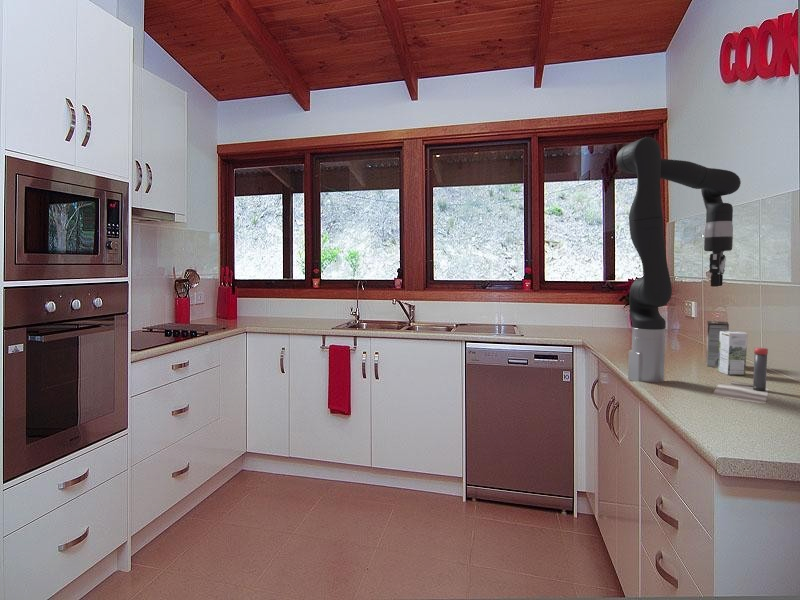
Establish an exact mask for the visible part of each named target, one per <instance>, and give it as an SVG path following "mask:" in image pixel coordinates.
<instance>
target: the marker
mask: <svg viewBox="0 0 800 600" xmlns="http://www.w3.org/2000/svg"><path fill="white" fill-rule="evenodd" d="M753 352H754V353H753V354H754V358H753V359H754V361H753V379H752V380H753V383H752V384H753V390H756V391H766V389H767V372H768V371H767V368H768V365H767V363H768V354H769V349H768V348H767V347H754V351H753Z"/></svg>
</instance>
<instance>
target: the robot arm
mask: <svg viewBox="0 0 800 600" xmlns="http://www.w3.org/2000/svg"><path fill="white" fill-rule="evenodd" d="M616 164H617V167H618V168H619V169H620V170H621V171H622V172H624V173H627V174H631V175H636V178H637V181H636V182H637V185H636V192H635V195H634V198H633V201H632V203H631V206H630V210H629V213H628V225H629V235H630V239H631V241H632V242H631V243H632V244H633V247H634V249H635V250H636V252H637V255H638V256H639V258H640V261H641V264H642V265H641V266H642V274H643V277H638V278H636V279H635V280H634V281H633V282H632V283H631V286H630V288H629V317H630V320H631V323H632V324H631V326H632V327H631V328H632V329H631V349H630V350H628V362H627V363H628V365H627V366H628V367H627V369H628V370H627V371H628V372H627V380H629V381H631V382H645V383H662V382H664V381H665V358H666V357H665V355H666V354H665V352H666V328H667V327H666V324H667V323H666V319H665V318H664V317H663V316H662V315H661V314H660V312H659V308H661V307H664V306H666V305H667V304H668V303H669V302H670V300H671V298H672V294H673V293H672V292H673V287H672V282H671V277H670V271H669V268H668V262H667V260H668V259H667V253H666V252H667V251H666V244H665V227H664V226H665V225H664V217H663V216H664V215H663V207H662V197H661V196H662V191H661V190H662V188H661V179H662V180H665V181H668V182H672V183H676V184H680V185H683V186H685V187H688V188H691V189H695V190H701V192H700V193H701V196H702V200H703V204H704V206H705V207H704V208H705V210H706V214H705V217H706V219H705V228H704V239H703V240H704V242H703V243H704V246H703V250H704V252H711V253H710V254H709V270H708V272H709V275H710V287H717V288H718V287H722V286H723V281H724V280H723V278H724V273H725V271H726V270H725V269H726V260H727V259H726V258H727V257H726V255H725V254H724V252H730V251H732V250H733V242H734V241H733V239H734V225H733V217H734V216H733V213H734V212H733V211H734V208H733V205H732V204H731V203H729V202H723V199H722V196H727V195H733V194H734V193H735V192H737V191H738V190H739V189H740V187H741V182H742V181H741V178H740V177H739V175H738V174H737V173H735V172H733V171H731V170H727V169H721V168H715V167H714V168H712V167H711V168H710V167H707V166H704V165H701V164H698V163H695V162H692V161H689V160H688V161H687V160H680V159H668V158H662V153H661V147H660V144H659V142H658V141H657V140H656V139H655V138H654V137H650V136H645V137H642V138H640V139H637V140H635V141H632V142H630V143H628V144H625V145H624V146H622V147H621V148H620V149H619V151H618V152H617V155H616Z"/></svg>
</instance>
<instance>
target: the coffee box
mask: <svg viewBox="0 0 800 600" xmlns="http://www.w3.org/2000/svg"><path fill="white" fill-rule="evenodd" d="M706 325H707V326H706V348H705V349H706V352H705V353H706V355H705V356H706V359H705V362H706V367H713V368H718V358H719V337H720V331H730V323H729V322H728V321H714V320H713V321H712V320H707V323H706Z"/></svg>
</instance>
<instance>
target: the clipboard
mask: <svg viewBox="0 0 800 600" xmlns="http://www.w3.org/2000/svg"><path fill="white" fill-rule="evenodd" d="M769 391H770V389H769V388H766V391H756V390H753V383H748V382H747V383H746V382H740V381H731V382H730V383H725V382H719V383H718V385H717V386H716V387H715V389H714V390H713V392H712V393H711V397H717V398H725V399H732V400H738V401H745V402H753V403H757V404H758V403H759V404H767V399H768V394H769Z"/></svg>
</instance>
